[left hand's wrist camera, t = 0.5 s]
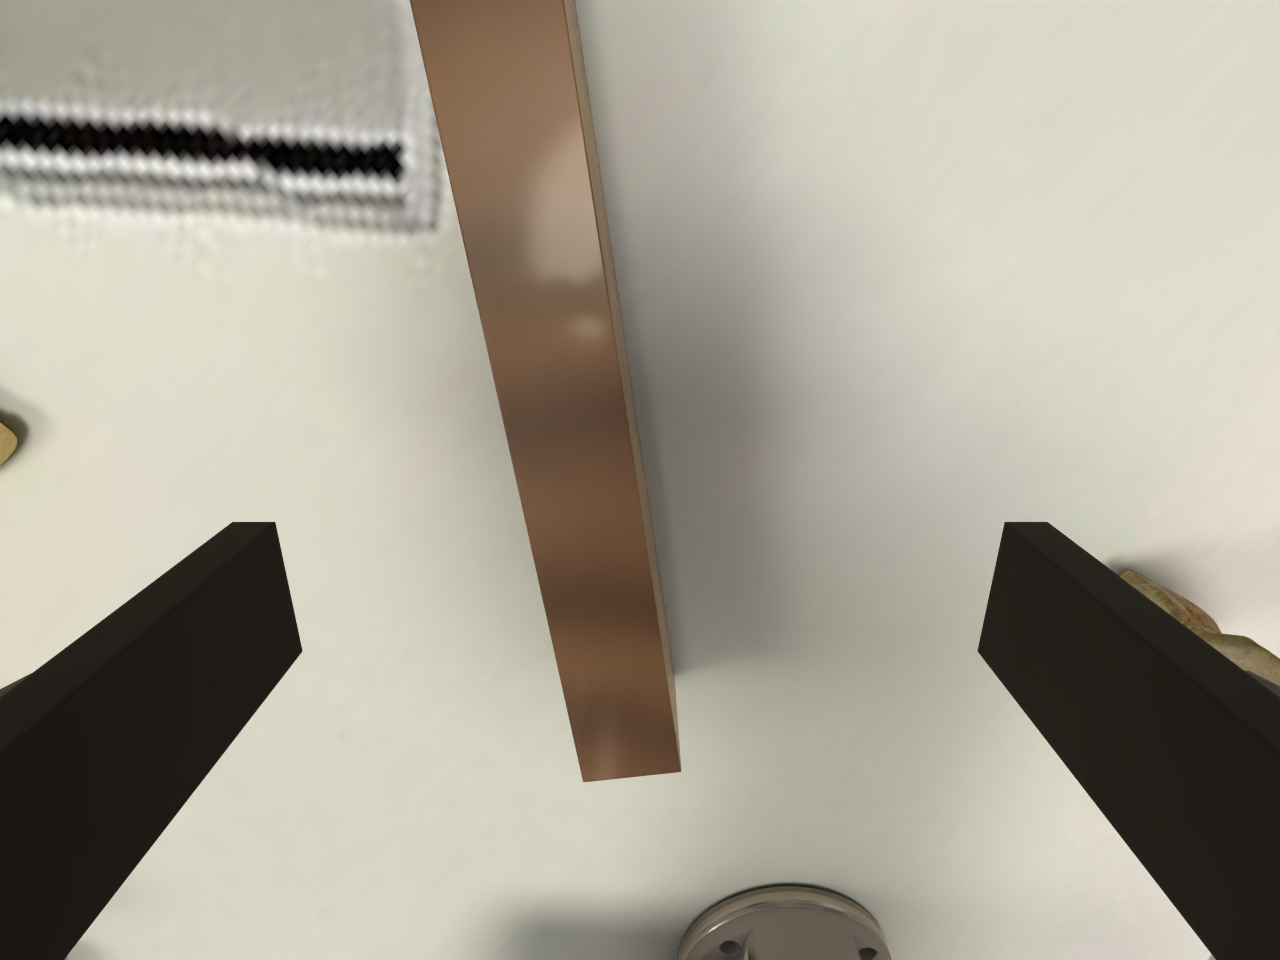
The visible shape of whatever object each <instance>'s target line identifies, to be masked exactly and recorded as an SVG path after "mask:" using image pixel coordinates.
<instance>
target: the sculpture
mask: <svg viewBox="0 0 1280 960" xmlns="http://www.w3.org/2000/svg"><path fill="white" fill-rule="evenodd" d="M1120 577H1121V578H1122V579H1123V580H1125V581H1126V582H1127V583H1129V584H1130V585H1131V586H1133V587H1134V588H1135V589H1137V590H1138V591H1139V592H1141V593H1142V594H1143V595H1145V596H1146V597H1147V598H1149V599H1150V600H1151V601H1153V602H1154V603H1155V604H1157V605H1158V606H1159V607H1161V608H1162V609H1163V610H1165V611H1166V612H1167V613H1169V614H1170V615H1171V616H1173V617H1174V618H1175V619H1176V620H1178V621H1179V622H1180V623H1182V624H1183V625H1184V626H1186V627H1187V628H1188V629H1190V630H1191V631H1192V632H1194V633H1195V634H1196V635H1198V636H1199V637H1200V638H1202V639H1203V640H1204V641H1206V642H1207V643H1208V644H1210V645H1211V646H1212V647H1214V648H1215V649H1216V650H1218V651H1219V652H1220V653H1222V654H1223V655H1224V656H1226V657H1227V658H1228V659H1230V660H1231V661H1232V662H1233V663H1235V664H1236V665H1237V666H1239V667H1240V668H1241V669H1243V670H1244V671H1251V672H1253V673H1255V674H1257V675H1259V676H1260V677H1262V678H1264V679H1266V680H1268V681H1270V682H1272V683H1274V684H1276V685H1278V686H1280V659H1279V658H1278V657H1276V656H1275V655H1274V654H1272V653H1271V652H1269V651H1268V650H1266V649H1265V648H1263V647H1262V646H1260V645H1258V644H1257V643H1256V642H1254V641H1253V640H1252V639H1250V638H1248V637H1245V636H1238V635H1229V634H1222V633H1221V632H1220V630H1219V628H1218V626H1217V624H1216V623H1215V621H1214V620H1213V619H1212V618H1211V617H1210V616H1209V615H1208V614H1207V613H1205V612H1204V611H1203V610H1202V609H1200V608H1199V607H1198V606H1196V605H1195V604H1193V603H1192V602H1190V601H1188V600H1187V599H1185V598H1183V597H1182V596H1180V595H1178V594H1176V593H1174V592H1172V591H1171V590H1168V589H1166V588H1163V587H1159V586H1158V585H1156V584H1154V583H1153V582H1151V581H1149V580H1148V579H1146V578H1144V577H1142V576H1140V575H1139V574H1137V573H1135V572H1133V571H1130V570H1127V571H1125V572H1124V573H1123V574H1121V575H1120Z"/></svg>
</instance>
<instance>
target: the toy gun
mask: <svg viewBox="0 0 1280 960" xmlns="http://www.w3.org/2000/svg"><path fill="white" fill-rule="evenodd" d="M16 445H17V437H16V436H15V435H14V434H13V432H12V431H10V430H9V429H8V428H6V427H5V426H4V425H3V424H1V423H0V465H1V464H2V463H4V462H5V461H6V460H7V459H8V458H9V456H10V455H11V454H12V453H13V451H14V450H15V448H16Z"/></svg>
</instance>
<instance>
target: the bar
mask: <svg viewBox="0 0 1280 960" xmlns="http://www.w3.org/2000/svg"><path fill="white" fill-rule="evenodd" d="M410 3H411V8H412V12H413V17H414V21H415V26H416V30H417V35H418V39H419V44H420V48H421V53H422V57H423V62H424V66H425V71H426V75H427V80H428V84H429V89H430V93H431V98H432V102H433V107H434V111H435V116H436V121H437V125H438V130H439V134H440V139H441V143H442V148H443V152H444V157H445V161H446V166H447V170H448V175H449V179H450V184H451V188H452V193H453V197H454V202H455V206H456V211H457V215H458V220H459V224H460V229H461V233H462V238H463V242H464V247H465V251H466V256H467V260H468V265H469V269H470V274H471V278H472V283H473V287H474V292H475V296H476V301H477V305H478V310H479V314H480V319H481V323H482V328H483V332H484V337H485V341H486V346H487V350H488V355H489V359H490V364H491V368H492V373H493V378H494V382H495V387H496V391H497V396H498V400H499V405H500V409H501V414H502V418H503V423H504V427H505V432H506V436H507V441H508V445H509V450H510V454H511V459H512V463H513V468H514V472H515V477H516V481H517V486H518V490H519V495H520V499H521V504H522V508H523V513H524V517H525V522H526V526H527V531H528V535H529V540H530V544H531V549H532V553H533V558H534V562H535V567H536V571H537V576H538V580H539V585H540V589H541V594H542V598H543V603H544V607H545V612H546V616H547V621H548V626H549V630H550V635H551V639H552V644H553V648H554V653H555V657H556V662H557V666H558V671H559V675H560V680H561V684H562V689H563V693H564V698H565V702H566V707H567V711H568V716H569V720H570V725H571V729H572V734H573V738H574V743H575V747H576V752H577V756H578V761H579V765H580V770H581V774H582V779H583V782H591V781H600V780H609V779H619V778H628V777H637V776H646V775H656V774H665V773H674V772H681V760H680V746H679V733H678V719H677V705H676V691H675V678H674V670H673V663H672V656H671V650H670V643H669V636H668V629H667V623H666V616H665V609H664V602H663V595H662V589H661V582H660V575H659V568H658V561H657V555H656V548H655V541H654V534H653V528H652V521H651V514H650V507H649V500H648V494H647V487H646V480H645V473H644V466H643V460H642V453H641V446H640V439H639V433H638V426H637V419H636V412H635V405H634V399H633V392H632V385H631V378H630V372H629V365H628V358H627V351H626V344H625V338H624V331H623V324H622V317H621V310H620V304H619V297H618V290H617V283H616V277H615V270H614V263H613V256H612V249H611V243H610V236H609V229H608V222H607V215H606V209H605V202H604V195H603V188H602V182H601V175H600V168H599V161H598V154H597V148H596V141H595V134H594V127H593V120H592V114H591V107H590V100H589V93H588V87H587V80H586V73H585V66H584V59H583V53H582V46H581V39H580V32H579V26H578V19H577V12H576V5H575V0H410Z"/></svg>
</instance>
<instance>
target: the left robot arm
mask: <svg viewBox="0 0 1280 960" xmlns="http://www.w3.org/2000/svg"><path fill="white" fill-rule="evenodd" d="M301 652H302V647H301V642H300V637H299V633H298V628H297V623H296V618H295V614H294V609H293V604H292V599H291V595H290V590H289V585H288V580H287V576H286V571H285V566H284V562H283V557H282V552H281V547H280V543H279V538H278V533H277V528H276V524H275V522H232V523H231V524H229V525H228V526H227V527H225V528H224V529H223V530H221V531H220V532H219V533H217V534H216V535H215V536H214V537H212V538H211V539H210V540H208V541H207V542H206V543H204V544H203V545H202V546H200V547H199V548H198V549H196V550H195V551H194V552H192V553H191V554H190V555H188V556H187V557H186V558H184V559H183V560H182V561H180V562H179V563H178V564H176V565H175V566H174V567H172V568H171V569H170V570H168V571H167V572H166V573H164V574H163V575H162V576H160V577H159V578H158V579H157V580H155V581H154V582H153V583H151V584H150V585H149V586H147V587H146V588H145V589H143V590H142V591H141V592H139V593H138V594H137V595H135V596H134V597H133V598H131V599H130V600H129V601H127V602H126V603H125V604H123V605H122V606H121V607H119V608H118V609H117V610H115V611H114V612H113V613H111V614H110V615H109V616H107V617H106V618H105V619H104V620H102V621H101V622H100V623H98V624H97V625H96V626H94V627H93V628H92V629H90V630H89V631H88V632H86V633H85V634H84V635H82V636H81V637H80V638H78V639H77V640H76V641H74V642H73V643H72V644H70V645H69V646H68V647H66V648H65V649H64V650H62V651H61V652H60V653H58V654H57V655H56V656H54V657H53V658H52V659H50V660H49V661H48V662H47V663H45V664H44V665H43V666H41V667H40V668H39V669H37V670H36V671H35V672H33V673H31V674H29V675H27V676H25V677H23V678H22V679H20V680H18V681H16V682H14V683H12V684H10V685H8V686H6V687H4V688H2V689H0V960H64V959H65V958H66V956H67V955H68V954H69V952H70V951H71V950H72V949H73V947H74V946H75V945H76V943H77V942H78V941H79V939H80V938H81V937H82V936H83V934H84V933H85V932H86V930H87V929H88V928H89V927H90V925H91V924H92V923H93V921H94V920H95V919H96V917H97V916H98V915H99V914H100V912H101V911H102V910H103V908H104V907H105V906H106V905H107V903H108V902H109V901H110V899H111V898H112V897H113V895H114V894H115V893H116V892H117V890H118V889H119V888H120V886H121V885H122V884H123V883H124V881H125V880H126V879H127V877H128V876H129V875H130V874H131V872H132V871H133V870H134V868H135V867H136V866H137V864H138V863H139V862H140V861H141V859H142V858H143V857H144V855H145V854H146V853H147V852H148V850H149V849H150V848H151V846H152V845H153V844H154V842H155V841H156V840H157V839H158V837H159V836H160V835H161V833H162V832H163V831H164V830H165V828H166V827H167V826H168V824H169V823H170V822H171V820H172V819H173V818H174V817H175V815H176V814H177V813H178V811H179V810H180V809H181V808H182V806H183V805H184V804H185V802H186V801H187V800H188V799H189V797H190V796H191V795H192V793H193V792H194V791H195V789H196V788H197V787H198V786H199V784H200V783H201V782H202V780H203V779H204V778H205V777H206V775H207V774H208V773H209V771H210V770H211V769H212V767H213V766H214V765H215V764H216V762H217V761H218V760H219V758H220V757H221V756H222V755H223V753H224V752H225V751H226V749H227V748H228V747H229V746H230V744H231V743H232V742H233V740H234V739H235V738H236V736H237V735H238V734H239V733H240V731H241V730H242V729H243V727H244V726H245V725H246V724H247V722H248V721H249V720H250V718H251V717H252V716H253V714H254V713H255V712H256V711H257V709H258V708H259V707H260V705H261V704H262V703H263V702H264V700H265V699H266V698H267V696H268V695H269V694H270V692H271V691H272V690H273V689H274V687H275V686H276V685H277V683H278V682H279V681H280V680H281V678H282V677H283V676H284V674H285V673H286V672H287V671H288V669H289V668H290V667H291V665H292V664H293V663H294V661H295V660H296V659H297V658H298V656H299V655H300V654H301ZM978 652H979V654H980V655H981V656H982V658H983V659H984V660H985V661H986V663H987V664H988V665H989V667H990V668H991V669H992V671H993V672H994V673H995V674H996V676H997V677H998V678H999V680H1000V681H1001V682H1002V683H1003V685H1004V686H1005V687H1006V689H1007V690H1008V691H1009V692H1010V694H1011V695H1012V696H1013V698H1014V699H1015V700H1016V702H1017V703H1018V704H1019V705H1020V707H1021V708H1022V709H1023V711H1024V712H1025V713H1026V714H1027V716H1028V717H1029V718H1030V720H1031V721H1032V722H1033V724H1034V725H1035V726H1036V727H1037V729H1038V730H1039V731H1040V733H1041V734H1042V735H1043V736H1044V738H1045V739H1046V740H1047V742H1048V743H1049V744H1050V746H1051V747H1052V748H1053V749H1054V751H1055V752H1056V753H1057V755H1058V756H1059V757H1060V758H1061V760H1062V761H1063V762H1064V764H1065V765H1066V766H1067V767H1068V769H1069V770H1070V771H1071V773H1072V774H1073V775H1074V777H1075V778H1076V779H1077V780H1078V782H1079V783H1080V784H1081V786H1082V787H1083V788H1084V789H1085V791H1086V792H1087V793H1088V795H1089V796H1090V797H1091V799H1092V800H1093V801H1094V802H1095V804H1096V805H1097V806H1098V808H1099V809H1100V810H1101V811H1102V813H1103V814H1104V815H1105V817H1106V818H1107V819H1108V821H1109V822H1110V823H1111V824H1112V826H1113V827H1114V828H1115V830H1116V831H1117V832H1118V833H1119V835H1120V836H1121V837H1122V839H1123V840H1124V841H1125V842H1126V844H1127V845H1128V846H1129V848H1130V849H1131V850H1132V852H1133V853H1134V854H1135V855H1136V857H1137V858H1138V859H1139V861H1140V862H1141V863H1142V864H1143V866H1144V867H1145V868H1146V870H1147V871H1148V872H1149V874H1150V875H1151V876H1152V877H1153V879H1154V880H1155V881H1156V883H1157V884H1158V885H1159V886H1160V888H1161V889H1162V890H1163V892H1164V893H1165V894H1166V895H1167V897H1168V898H1169V899H1170V901H1171V902H1172V903H1173V905H1174V906H1175V907H1176V908H1177V910H1178V911H1179V912H1180V914H1181V915H1182V916H1183V917H1184V919H1185V920H1186V921H1187V923H1188V924H1189V925H1190V927H1191V928H1192V929H1193V930H1194V932H1195V933H1196V934H1197V936H1198V937H1199V938H1200V939H1201V941H1202V942H1203V943H1204V945H1205V946H1206V947H1207V949H1208V950H1209V951H1210V952H1211V954H1212V955H1213V956H1214V958H1215V959H1216V960H1280V686H1278V685H1276V684H1274V683H1272V682H1270V681H1268V680H1266V679H1264V678H1262V677H1260V676H1259V675H1257V674H1255V673H1253V672H1251V671H1244V670H1243V669H1241V668H1240V667H1239V666H1237V665H1236V664H1235V663H1233V662H1232V661H1231V660H1230V659H1228V658H1227V657H1226V656H1224V655H1223V654H1222V653H1220V652H1219V651H1218V650H1216V649H1215V648H1214V647H1212V646H1211V645H1210V644H1208V643H1207V642H1206V641H1204V640H1203V639H1202V638H1200V637H1199V636H1198V635H1196V634H1195V633H1194V632H1192V631H1191V630H1190V629H1188V628H1187V627H1186V626H1184V625H1183V624H1182V623H1180V622H1179V621H1178V620H1176V619H1175V618H1174V617H1173V616H1171V615H1170V614H1169V613H1167V612H1166V611H1165V610H1163V609H1162V608H1161V607H1159V606H1158V605H1157V604H1155V603H1154V602H1153V601H1151V600H1150V599H1149V598H1147V597H1146V596H1145V595H1143V594H1142V593H1141V592H1139V591H1138V590H1137V589H1135V588H1134V587H1133V586H1131V585H1130V584H1129V583H1127V582H1126V581H1125V580H1123V579H1122V578H1121V577H1120V576H1118V575H1117V574H1116V573H1114V572H1113V571H1112V570H1110V569H1109V568H1108V567H1106V566H1105V565H1104V564H1102V563H1101V562H1100V561H1098V560H1097V559H1096V558H1094V557H1093V556H1092V555H1090V554H1089V553H1088V552H1086V551H1085V550H1084V549H1082V548H1081V547H1080V546H1078V545H1077V544H1076V543H1074V542H1073V541H1072V540H1070V539H1069V538H1068V537H1066V536H1065V535H1064V534H1063V533H1061V532H1060V531H1059V530H1057V529H1056V528H1055V527H1053V526H1052V525H1051V524H1049V523H1048V522H1005V524H1004V528H1003V533H1002V538H1001V543H1000V547H999V552H998V557H997V562H996V566H995V571H994V576H993V580H992V585H991V590H990V595H989V599H988V604H987V609H986V614H985V618H984V623H983V628H982V633H981V637H980V642H979V647H978ZM678 960H891V957H890V954H889V951H888V948H887V945H886V942H885V939H884V936H883V934H882V931H881V929H880V928H879V926H878V924H877V923H876V921H875V920H874V919H873V918H872V916H871V915H870V914H869V913H868V912H866V911H865V910H864V909H863V908H862V907H860V906H859V905H857V904H856V903H854V902H852V901H851V900H849V899H847V898H845V897H842V896H840V895H837V894H834V893H831V892H828V891H824V890H820V889H815V888H809V887H798V886H783V887H771V888H764V889H759V890H754V891H750V892H746V893H743V894H740V895H737V896H734V897H732V898H730V899H728V900H725V901H723V902H722V903H720V904H718V905H716V906H714V907H713V908H711V909H710V910H708V911H707V912H706V913H705V914H703V915H702V916H701V917H700V918H699V919H698V920H697V921H696V922H695V923H694V924H693V925H692V926H691V927H690V929H689V930H688V932H687V933H686V935H685V936H684V938H683V940H682V943H681V946H680V948H679V953H678Z"/></svg>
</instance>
